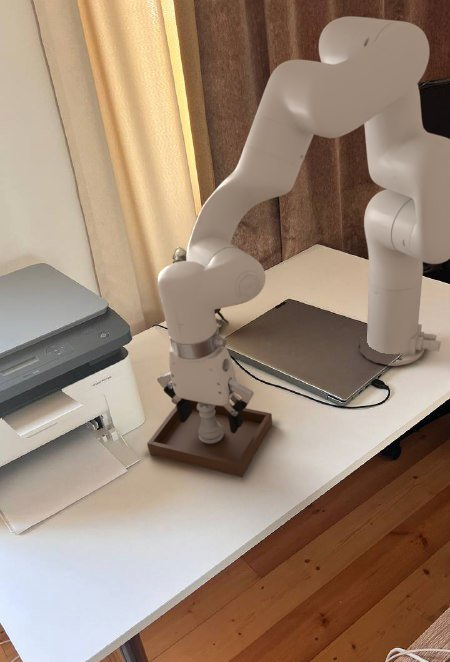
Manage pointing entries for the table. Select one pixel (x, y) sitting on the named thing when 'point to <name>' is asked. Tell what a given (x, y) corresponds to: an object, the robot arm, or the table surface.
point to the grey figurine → (181, 256)
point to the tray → (221, 456)
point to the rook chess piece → (209, 424)
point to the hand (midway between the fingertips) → (211, 422)
